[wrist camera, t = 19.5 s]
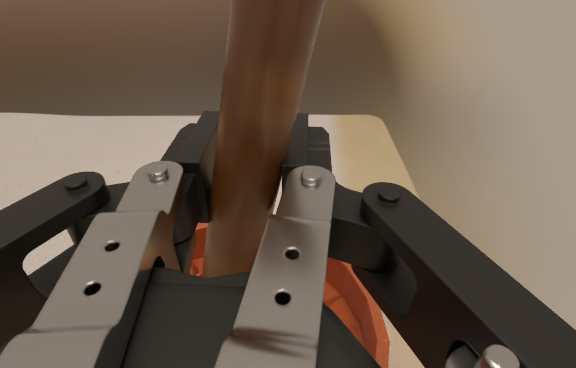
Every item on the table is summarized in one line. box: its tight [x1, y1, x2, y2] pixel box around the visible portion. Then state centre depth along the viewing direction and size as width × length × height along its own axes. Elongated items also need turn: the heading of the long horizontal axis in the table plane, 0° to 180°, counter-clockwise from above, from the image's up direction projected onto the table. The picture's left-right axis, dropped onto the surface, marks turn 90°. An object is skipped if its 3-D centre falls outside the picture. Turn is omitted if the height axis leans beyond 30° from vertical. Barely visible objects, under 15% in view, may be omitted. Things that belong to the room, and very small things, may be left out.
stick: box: [202, 0, 325, 278], centre depth 13 cm, size 3×2×20 cm, turn 93°
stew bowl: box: [190, 223, 390, 368], centre depth 20 cm, size 16×16×6 cm
